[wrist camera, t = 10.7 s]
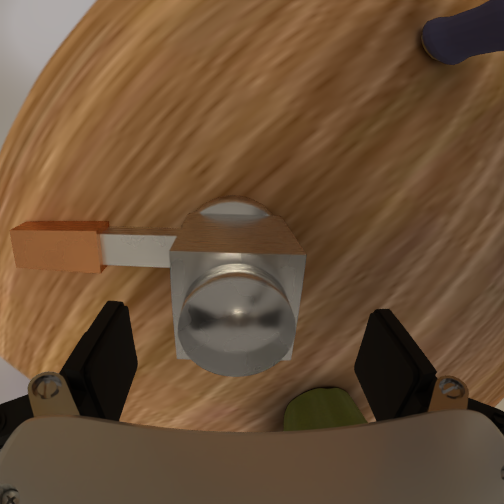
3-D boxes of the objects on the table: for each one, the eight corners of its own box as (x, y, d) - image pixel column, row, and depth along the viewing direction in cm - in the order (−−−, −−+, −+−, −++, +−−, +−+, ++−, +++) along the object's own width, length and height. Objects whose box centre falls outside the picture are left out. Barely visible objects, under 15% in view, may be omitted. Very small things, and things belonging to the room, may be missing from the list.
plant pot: (302, 354, 25) (336, 460, 15) (389, 382, 28) (433, 461, 18) (239, 427, 29) (245, 518, 18) (324, 444, 31) (346, 519, 21)
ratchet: (286, 197, 21) (306, 219, 15) (277, 290, 23) (290, 334, 18) (23, 197, 19) (-21, 216, 13) (35, 277, 21) (0, 310, 16)
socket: (280, 216, 18) (316, 271, 11) (273, 296, 20) (296, 382, 13) (189, 212, 18) (161, 266, 10) (190, 295, 20) (172, 381, 12)
